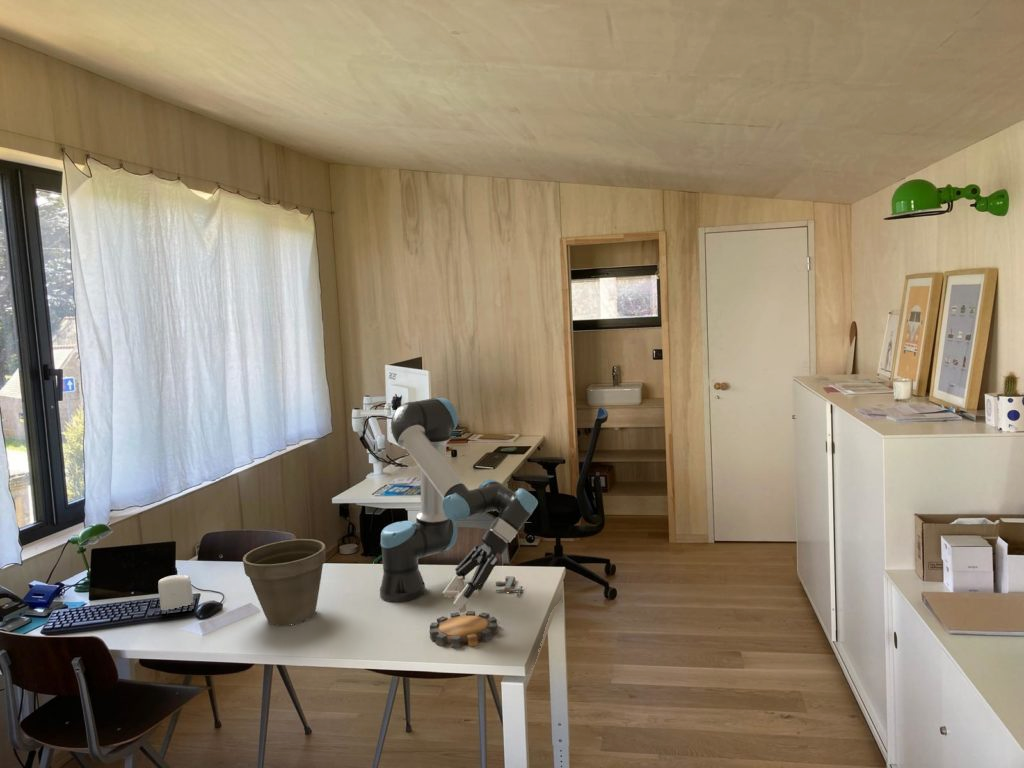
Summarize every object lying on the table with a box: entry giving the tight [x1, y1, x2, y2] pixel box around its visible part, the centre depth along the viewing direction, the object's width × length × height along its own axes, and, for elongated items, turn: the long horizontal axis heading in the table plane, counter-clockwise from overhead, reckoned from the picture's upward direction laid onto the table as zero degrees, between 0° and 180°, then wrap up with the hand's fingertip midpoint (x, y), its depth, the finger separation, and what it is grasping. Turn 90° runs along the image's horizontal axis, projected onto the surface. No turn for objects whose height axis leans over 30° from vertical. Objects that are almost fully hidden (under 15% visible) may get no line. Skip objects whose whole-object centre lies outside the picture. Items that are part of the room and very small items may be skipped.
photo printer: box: [157, 574, 194, 611], centre depth 253 cm, size 10×4×12 cm, turn 100°
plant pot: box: [242, 538, 327, 627], centre depth 242 cm, size 25×25×22 cm
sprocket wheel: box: [429, 610, 499, 649], centre depth 222 cm, size 20×20×2 cm
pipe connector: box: [443, 576, 480, 613], centre depth 221 cm, size 10×10×10 cm
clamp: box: [495, 575, 524, 597], centre depth 255 cm, size 15×2×10 cm
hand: (451, 600), depth 220 cm, fingers closed on pipe connector, 9 cm apart
